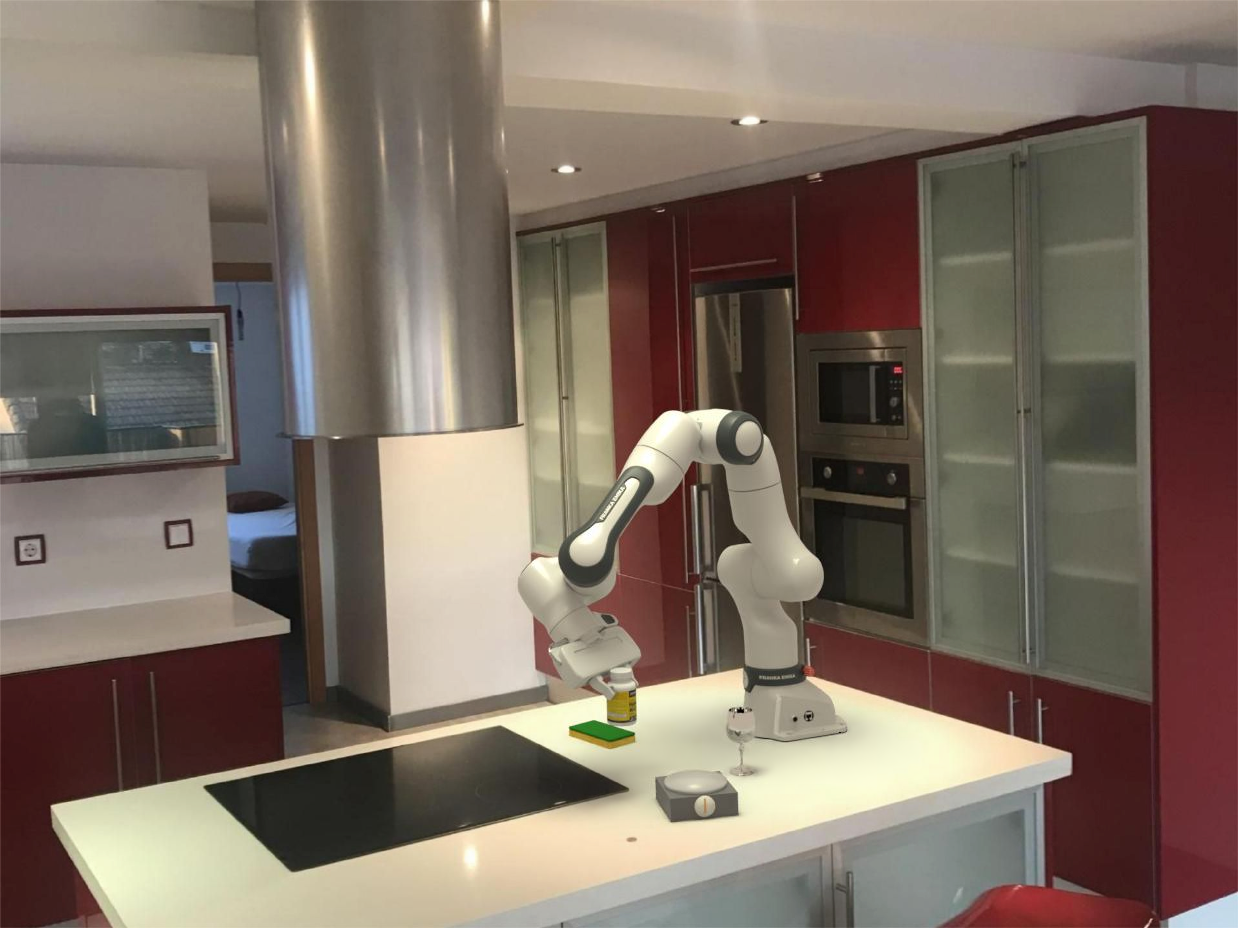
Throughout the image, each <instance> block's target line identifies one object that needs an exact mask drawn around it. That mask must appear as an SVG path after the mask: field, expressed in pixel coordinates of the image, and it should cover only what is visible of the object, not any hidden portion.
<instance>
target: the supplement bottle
mask: <svg viewBox="0 0 1238 928" xmlns="http://www.w3.org/2000/svg"><path fill="white" fill-rule="evenodd" d="M632 671H633V669H632V670H631V669H630V668H622V667H621V668H613V669H611V670H610V676H609V679H610V680H609V681H608V682H607V683H606V684H607V685H609V686H610V687H611V686H613V687H614V688H615V690H616V691H617V693H618V694H617V696H615V698H613V699H611V700H607V699H606V721H607V724H609V725H612V726H615V727H629V726H630V727H631V726H633V725H635V724H636V723H637V715H638V714H637V713H638V712H637V688H636V684H635V682H634V681H632V680H631V678H632Z"/></svg>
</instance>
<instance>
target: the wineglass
mask: <svg viewBox="0 0 1238 928" xmlns="http://www.w3.org/2000/svg"><path fill="white" fill-rule="evenodd" d="M725 732H726V736H727V737H728V739H729V740H731V741H732V742H734V743H736V744H739V746H738V752H739V755H740V764H739V767H735V768H732V769H731V770H730V771H729V772H730V774H731V775H734V776H749V775H752V774H754V773H755V771H754V769H752V768H749V767H745V765H744V751H745V746H744V744H746V743H749V742H750V741H752V740H753V739H754V738H755V737H756V736H755V734H756V721H755V716H754V713H753V709H751V708H748V707H743V706H736V707H731V708H728V710H727V715H726V720H725Z"/></svg>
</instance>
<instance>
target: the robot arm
mask: <svg viewBox="0 0 1238 928" xmlns="http://www.w3.org/2000/svg"><path fill="white" fill-rule="evenodd" d="M773 448H774V447H773V446H772V444H771V441H770V438H769V437H768V436H767V435H766V434H764V431H763V428H762V425H761V424H760V421H759V420H757V418H756V417H755V416H753V415H752V414H751V413H748V412H744V411H741V410H729V409H723V408H722V409H721V408H711V409H701V410H699V409H690V410H686V411H679V410H668V411H665V412H663V413H662V414H661V415H659V416H658V417H657V419H655V421H654V422H653V423H652V424H651V425H650V426H649V427H648V429H647V430H645V432H644V433H643V435H642V436H641V438H640V439H639V440H638V442H637V444H636V445H635V447H634V448H633V449H632V452H631V453H630V454H629V456H628V458H627V460H626V462H625V464H624V466H623V468H622V470H621V473H620V474H619V476H618V478H617V480H616V482H615V483H614V485H613V486H612V487H611V488H610V490H609V492H608V493H607V494H606V496H605V497H604V499H603V500H602V502H601V503H600V505H598V507H597V508H596V510H595V511H594V513H593V514H592V516H591V517H590V518H589V520H587V521H586V522H585V523H584V524H583V525H581V527H579V528H577V529H576V530H575V531H573V532H572V533H570V534H569V535H568V536H567V537H566V538H565V539H564V540H563V542H562V543H561V545H560V547H559V550H558V552H557V553H558V555H557V556H555V557H554V556H553V557H543V556H538V557H536V558H535V559H533V560H531V561H530V562H529V563H528V564H527V565H526V566H525V567H524V569H522V571H521V573H520V575H519V576H518V579H517V590H518V593H519V595H520V597H521V599H522V601H523V603H524V604H525V605H526V607H527V608H528V609H529V611H530V613H531V614H532V615H533V617H534V618H535V619H536V620H537V621H538V622H539V623H541V624H542V625H543V626H544V627H545V629H546V630H547V631H546V632H547V634H548V635H549V638H550V639H551V640H552V641H553V642H552V643H550V644H548V645H549V647H548V651H547V652H548V653H547V654H548V655H549V657H550V658H551V659H552V664H553V666H554V667H555V669H556V671H557V673H558V675H559V676H560V678H561V679H562V681H563V683H565V685H566V686H567V687H568V688H569V689H571V690H573V691H574V690H577V689H579V688H582V687H584V686H587V685H589V686H590V687H591V688H592V689H594V690H595V691H597V692H599V693H601V694H602V695H603V696H604V698H605V699H606V701H607V700H611V699H613V698H615V696H617V694H618V693H617V691H616V690H615V688H614V687H613V686H611V687H610V686H609V685H607V683H606V682H605V681H603V680H604V678H607V677H610V670H611V669H613V668H621V667H622V668H630V669H631V670H632V678H631V680H632V681H634V682H635V684H636V689H637V688H638V687H639V686H640V685H639V682H638V681H637V679H636V678H635V676H634V672H633V666H635V664H637V663H638V661H640V660H641V658H642V652H641V649H640V647H639V646H638V645H637V643H636V642H635V640H634V639H633V638H632V637H631V636H630V635H629V633H628V632H627V631H626V630H625V629H624V628H623V627H621V626H619V625H618V624H619V621H618V618H617V617H616V616H615V615H614V614H611V613H602V612H597V611H591V610H590V608H589V607H590V606H591V605H594V604H595V603H597V602H599V601H601V600H603V599H605V598H606V597H607V596H608V595H610V593H612V591H613V590H614V588H615V585H616V582H617V570H616V569H617V568H616V565H615V554H616V553H615V551H616V546H617V543H618V541H619V539H620V537H621V536H622V535H623V533H624V532H625V530H626V529H627V527H628V526H629V524H630V523H631V521H632V519H633V518H634V517H635V515H636V514H637V512H638V511H639V510H640V509H641V508H642V507H643V506H645V505H646V506H656V505H660V504H663V503H664V502H665V501H666V500H667V499H668V498H669V497H670V496H671V495H672V494H673V493H674V491H676V489H677V488H678V486H679V485H680V484H681V482H682V480H683V478H684V477H685V475H686V473H687V472H688V470H689V467H690V466H691V464H692V462H696V463H700V464H706V465H723V468H724V470H725V476H726V477H725V478H726V485H727V492H728V495H729V496H728V497H729V503H730V507H731V508H730V509H731V515H732V519H733V523H734V525H735V527H736V528H737V529H738V530H739V531H740V532H741V533H742V534H744V535H745V537H746V538H747V539H748V540H749V543H741V544H740V543H739V544H733V545H730V546H728V547H726V548H725V549H723V551H722V553H721V554H720V556H719V558H718V560H717V565H716V566H717V567H716V570H717V576H718V579H719V582H720V583H721V584H722V586H724V588H726V590H727V591H728V592H729V594H730V596H731V597H732V599H733V601H734V603H735V606H736V608H737V611H738V613H739V616H740V620H741V623H742V628H743V629H742V630H743V641H744V662H743V664H742V666H743V667H742V669H743V670H742V684H743V685H742V687H743V689H744V690H743V691H744V699H743V706H742V707H748V708H751V709H753V713H754V716H755V721H756V734H755V736H754V737H757V738H766V739H772V740H776V741H781V742H789V741H790V742H791V741H796V740H802V739H809V738H814V737H815V738H816V737H820V736H827V735H828V736H829V735H833V734H840V733H839V732H841V733H845V732H846V731H847V730H848V726H847V723H846V721H845V719H844V718H843V717H841V716H839V715H837V713H836V709H835V705H834V703H833V700H832V698H831V697H830V696H829V695H828V694H827V693H826V692H825V691H823V689H821V688H820V687H818V686H817V685H816V684H815V683H813V682H811V681H810V680H809V679H807V678H811V677H813V676H814V675H815V669H814V668H813V667H812V666H810V665H806V664H804V663H802V662H801V661H799V657H798V655H799V654H798V653H799V652H798V627H797V625H796V624H795V622H794V621H793V620H792V619H791V617H790V616H789V615H788V614H787V613H786V612H785V610H784V608H783V607H782V603H781V602H787V603H796V602H803V601H810V600H812V599H814V598H815V597H817V595H818V594H819V593H820V591H821V589H822V587H823V585H824V580H825V579H824V578H825V577H824V574H825V573H824V568H823V566H822V563H821V561H820V560H819V559H820V558H818V557H817V556H815V555H814V554H813V553H812V552H811V551H810V550H809V549H808V548H807V547H806V545H805V544H804V543H803V541H802V540H801V539H800V537H799V536H798V534H797V532H796V530H795V528H794V526H793V524H792V522H791V520H790V517H789V514H788V510H787V504H786V500H785V496H784V491H783V486H782V485H783V484H782V479H781V474H780V470H779V469H780V468H779V464H778V461H777V457H776V454H775V451H774V449H773Z"/></svg>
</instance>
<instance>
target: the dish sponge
mask: <svg viewBox="0 0 1238 928" xmlns="http://www.w3.org/2000/svg"><path fill="white" fill-rule="evenodd" d="M568 729H569V730H568V736H569V737H572V738H575V739H578V740H581V741H584V742H587V743H589V744H593V745H595V746H599V747H602V748H605V749H608V750H612V749H616V748H619V747H623V746H627V745H630V744H633V743H636V732H634V731H632V730H628V729H625V728H622V727H620V726H612V725H610V724H608V723H605V722H602V721H599V720H595V719H593V720H588V721H584V722H582V723H577V724H573V725H569V726H568Z"/></svg>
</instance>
